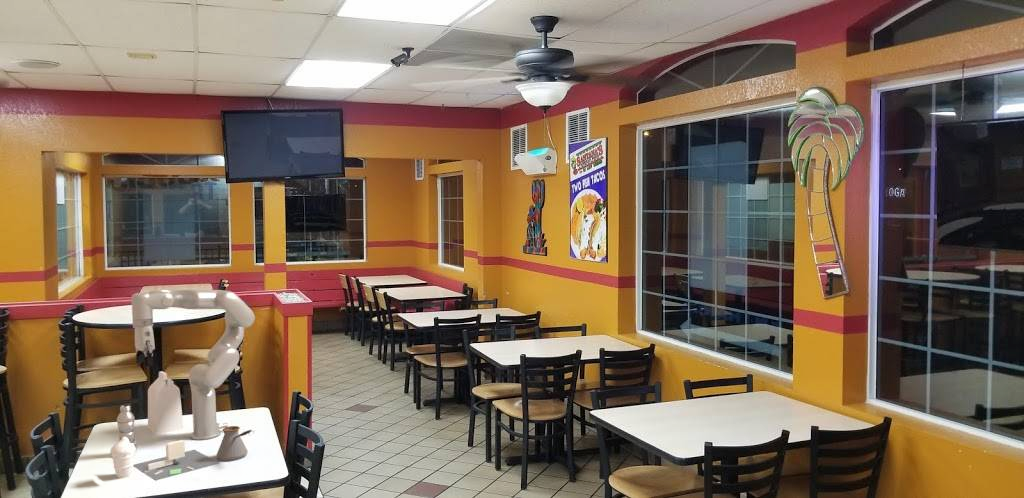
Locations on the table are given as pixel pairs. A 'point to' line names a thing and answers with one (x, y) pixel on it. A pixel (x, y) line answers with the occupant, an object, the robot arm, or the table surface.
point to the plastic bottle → (126, 424)
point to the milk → (164, 406)
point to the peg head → (170, 455)
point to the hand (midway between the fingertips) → (144, 364)
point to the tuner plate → (177, 465)
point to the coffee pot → (232, 444)
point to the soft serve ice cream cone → (123, 457)
